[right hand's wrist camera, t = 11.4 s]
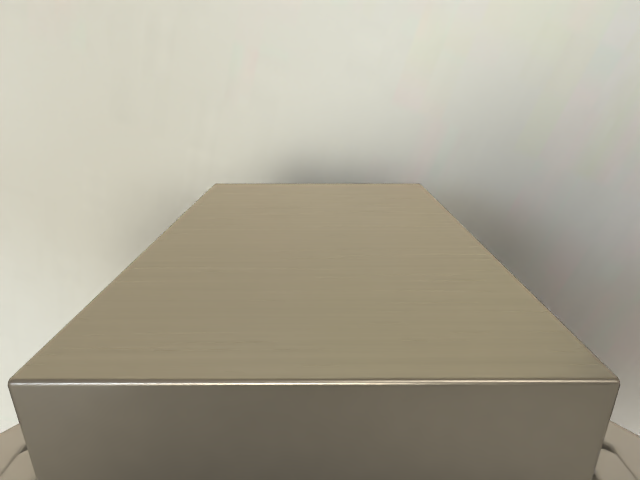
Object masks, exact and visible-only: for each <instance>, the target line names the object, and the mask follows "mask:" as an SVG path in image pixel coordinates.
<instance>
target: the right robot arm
mask: <svg viewBox="0 0 640 480" xmlns="http://www.w3.org/2000/svg"><path fill="white" fill-rule="evenodd" d="M0 480H37V478H36V475H35V472H34V469H33V466H32V462H31V459H30V456H29V453H28V449H27V446H26V443H25V440H24V436H23V433H22V430H21V427H20V423H19V424H17V425H15V426H13V427H12V428H10V429H8V430H6V431H4V432H2V433H0ZM592 480H640V437H639V436H638V435H636V434H634V433H632V432H630V431H628V430H627V429H625V428H623V427H621V426H619V425H617V424H616V423H614V422H612V421H609V424H608V427H607V431H606V434H605V438H604V441H603V444H602V448H601V451H600V454H599V458H598V461H597V464H596V468H595V471H594V475H593V478H592Z"/></svg>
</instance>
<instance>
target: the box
mask: <svg viewBox="0 0 640 480" xmlns="http://www.w3.org/2000/svg"><path fill="white" fill-rule="evenodd" d="M619 387H620V381H619V379H618V377H617V376H616V375H615V374H614V373H613V372H612V371H610V370H609V369H608V368H607V367H606V366H605V365H604V364H603V363H602V362H601V361H600V360H599V359H598V358H597V357H596V356H595V355H594V354H593V353H592V352H591V351H590V350H589V349H588V348H587V347H586V346H585V345H584V344H583V343H582V342H581V341H580V340H579V339H578V338H577V337H576V336H575V335H574V334H573V333H572V332H571V331H570V330H569V329H568V328H567V327H566V326H565V325H564V324H563V323H562V322H561V321H559V320H558V319H557V318H556V317H555V316H554V315H553V314H552V313H551V312H550V311H549V310H548V309H547V308H546V307H545V306H544V305H543V304H542V303H541V302H540V301H539V300H538V299H537V298H536V297H535V296H534V295H533V294H532V293H531V292H530V291H529V290H528V289H527V288H526V287H525V286H524V285H523V284H522V283H521V282H520V281H519V280H518V279H517V278H516V277H515V276H514V275H513V274H512V273H511V272H510V271H508V270H507V269H506V268H505V267H504V266H503V265H502V264H501V263H500V262H499V261H498V260H497V259H496V258H495V257H494V256H493V255H492V254H491V253H490V252H489V251H488V250H487V249H486V248H485V247H484V246H483V245H482V244H481V243H480V242H479V241H478V240H477V239H476V238H475V237H474V236H473V235H472V234H471V233H470V232H469V231H468V230H467V229H466V228H465V227H464V226H463V225H462V224H461V223H460V222H459V221H457V220H456V219H455V218H454V217H453V216H452V215H451V214H450V213H449V212H448V211H447V210H446V209H445V208H444V207H443V206H442V205H441V204H440V203H439V202H438V201H437V200H436V199H435V198H434V197H433V196H432V195H431V194H430V193H429V192H428V191H427V190H426V189H425V188H424V187H423V186H422V185H421V184H214V185H213V186H212V187H211V188H210V189H209V190H208V191H207V192H206V193H205V194H204V195H203V196H202V197H201V198H200V199H199V200H198V201H197V202H195V203H194V204H193V205H192V206H191V207H190V208H189V209H188V210H187V211H186V212H185V213H184V214H183V215H182V216H181V217H180V218H179V219H178V220H176V221H175V222H174V223H173V224H172V225H171V226H170V227H169V228H168V229H167V230H166V231H165V232H164V233H163V234H162V235H161V236H160V237H159V238H158V239H156V240H155V241H154V242H153V243H152V244H151V245H150V246H149V247H148V248H147V249H146V250H145V251H144V252H143V253H142V254H141V255H140V256H139V257H137V258H136V259H135V260H134V261H133V262H132V263H131V264H130V265H129V266H128V267H127V268H126V269H125V270H124V271H123V272H122V273H121V274H120V275H119V276H117V277H116V278H115V279H114V280H113V281H112V282H111V283H110V284H109V285H108V286H107V287H106V288H105V289H104V290H103V291H102V292H101V293H100V294H98V295H97V296H96V297H95V298H94V299H93V300H92V301H91V302H90V303H89V304H88V305H87V306H86V307H85V308H84V309H83V310H82V311H81V312H80V313H78V314H77V315H76V316H75V317H74V318H73V319H72V320H71V321H70V322H69V323H68V324H67V325H66V326H65V327H64V328H63V329H62V330H61V331H59V332H58V333H57V334H56V335H55V336H54V337H53V338H52V339H51V340H50V341H49V342H48V343H47V344H46V345H45V346H44V347H43V348H42V349H41V350H39V351H38V352H37V353H36V354H35V355H34V356H33V357H32V358H31V359H30V360H29V361H28V362H27V363H26V364H25V365H24V366H23V367H22V368H20V369H19V370H18V371H17V372H16V373H15V374H14V375H13V376H12V377H11V378H10V379H9V381H8V388H9V391H10V394H11V398H12V401H13V404H14V407H15V410H16V414H17V417H18V420H19V423H20V427H21V430H22V433H23V436H24V440H25V443H26V446H27V449H28V453H29V456H30V459H31V462H32V466H33V469H34V472H35V475H36V478H37V480H592V478H593V475H594V471H595V468H596V464H597V461H598V458H599V454H600V451H601V448H602V444H603V441H604V438H605V434H606V431H607V427H608V424H609V421H610V417H611V414H612V411H613V407H614V404H615V400H616V397H617V394H618V390H619Z"/></svg>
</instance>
